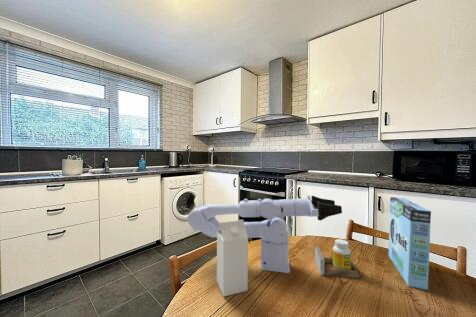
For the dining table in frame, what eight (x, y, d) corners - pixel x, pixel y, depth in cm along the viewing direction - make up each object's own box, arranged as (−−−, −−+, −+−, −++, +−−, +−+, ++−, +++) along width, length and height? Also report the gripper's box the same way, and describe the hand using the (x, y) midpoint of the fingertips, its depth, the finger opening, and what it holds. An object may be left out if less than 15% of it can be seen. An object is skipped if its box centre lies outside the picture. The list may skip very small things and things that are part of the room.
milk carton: (216, 281, 60) (217, 218, 60) (238, 276, 63) (239, 216, 62) (223, 297, 53) (223, 226, 53) (247, 291, 56) (248, 223, 56)
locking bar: (320, 274, 64) (320, 259, 64) (314, 259, 73) (315, 246, 73) (324, 275, 63) (324, 259, 63) (318, 260, 73) (318, 246, 73)
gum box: (388, 256, 76) (389, 196, 76) (404, 259, 74) (406, 198, 74) (407, 286, 59) (409, 208, 58) (430, 291, 57) (432, 210, 56)
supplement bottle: (338, 264, 71) (338, 237, 70) (353, 271, 66) (354, 242, 66) (329, 268, 68) (329, 240, 67) (345, 276, 63) (345, 246, 63)
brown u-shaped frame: (325, 274, 64) (325, 268, 64) (320, 261, 72) (320, 256, 72) (359, 279, 62) (359, 272, 62) (350, 265, 70) (350, 259, 70)
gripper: (295, 200, 61) (343, 198, 58) (292, 192, 75) (331, 190, 72) (297, 223, 61) (345, 223, 58) (293, 210, 75) (332, 210, 72)
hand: (337, 206), depth 65 cm, fingers open, 7 cm apart
